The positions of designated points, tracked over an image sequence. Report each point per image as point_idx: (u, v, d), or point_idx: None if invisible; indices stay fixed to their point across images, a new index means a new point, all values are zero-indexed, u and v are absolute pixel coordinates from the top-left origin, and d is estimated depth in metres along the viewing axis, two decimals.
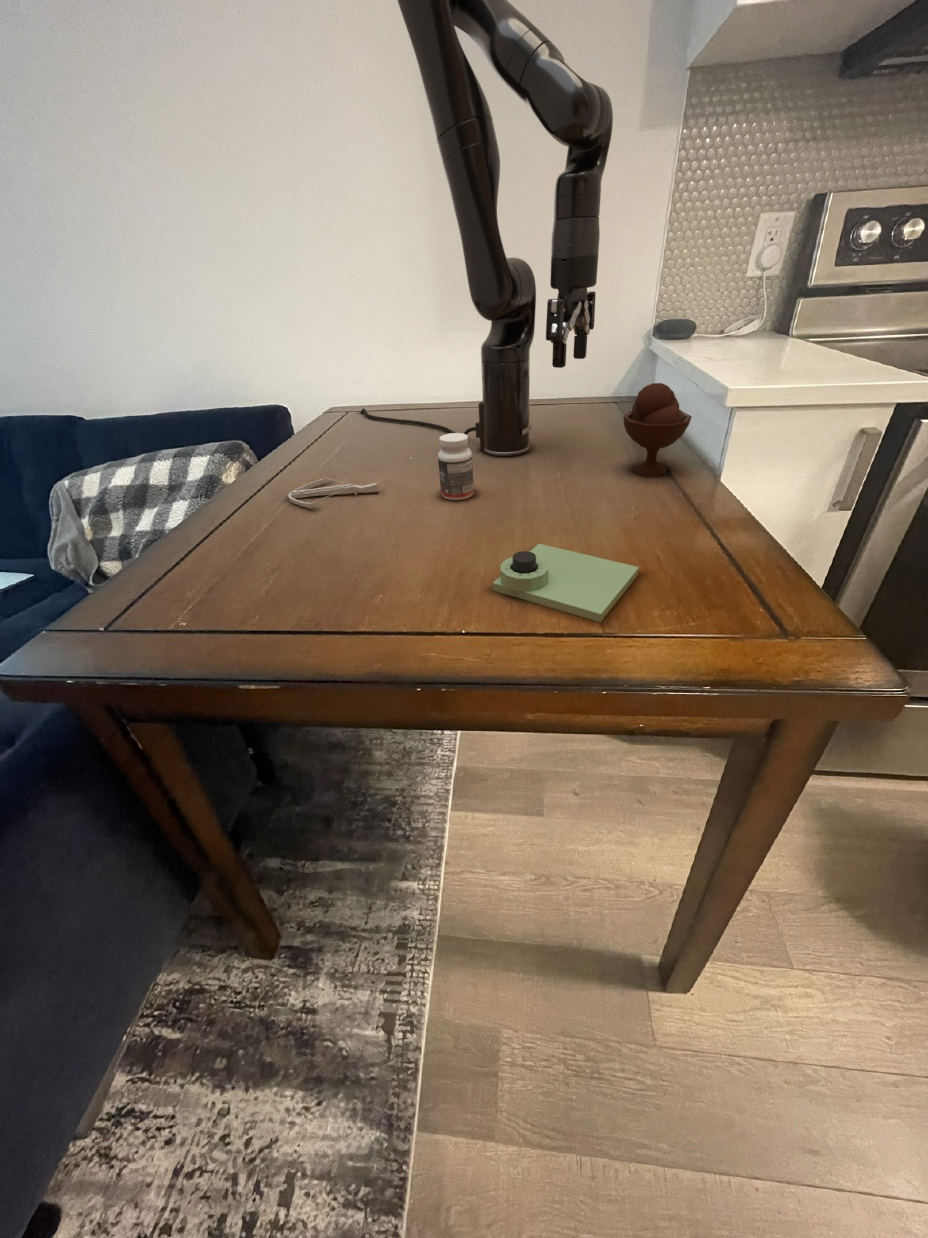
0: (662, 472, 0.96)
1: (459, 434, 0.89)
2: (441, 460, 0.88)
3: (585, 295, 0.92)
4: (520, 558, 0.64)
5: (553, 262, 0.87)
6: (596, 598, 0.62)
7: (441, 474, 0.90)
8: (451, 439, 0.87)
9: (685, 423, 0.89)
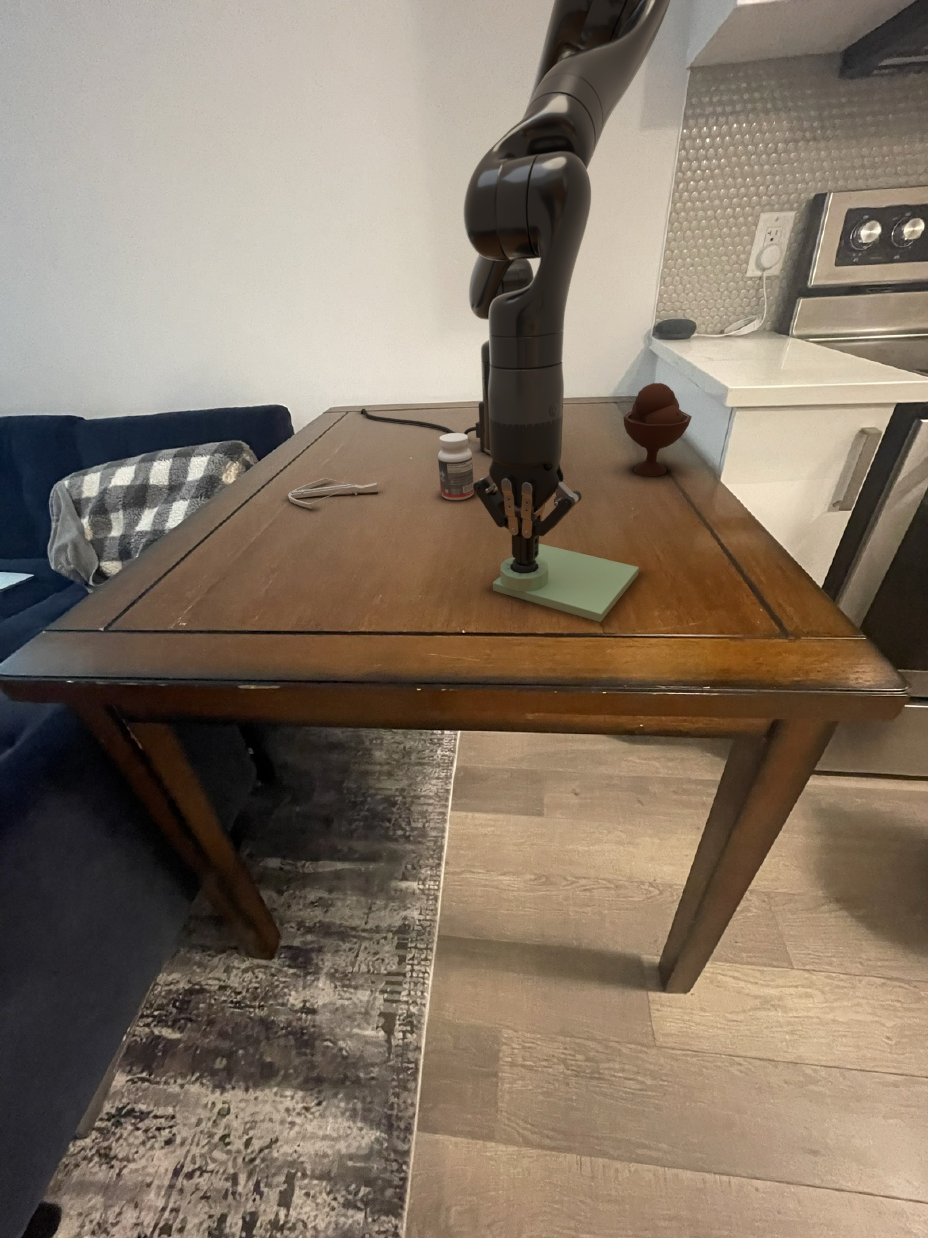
0: (662, 472, 0.96)
1: (459, 434, 0.89)
2: (441, 460, 0.88)
3: (544, 477, 0.57)
4: None
5: None
6: (596, 598, 0.62)
7: (441, 474, 0.90)
8: (451, 439, 0.87)
9: (685, 423, 0.89)
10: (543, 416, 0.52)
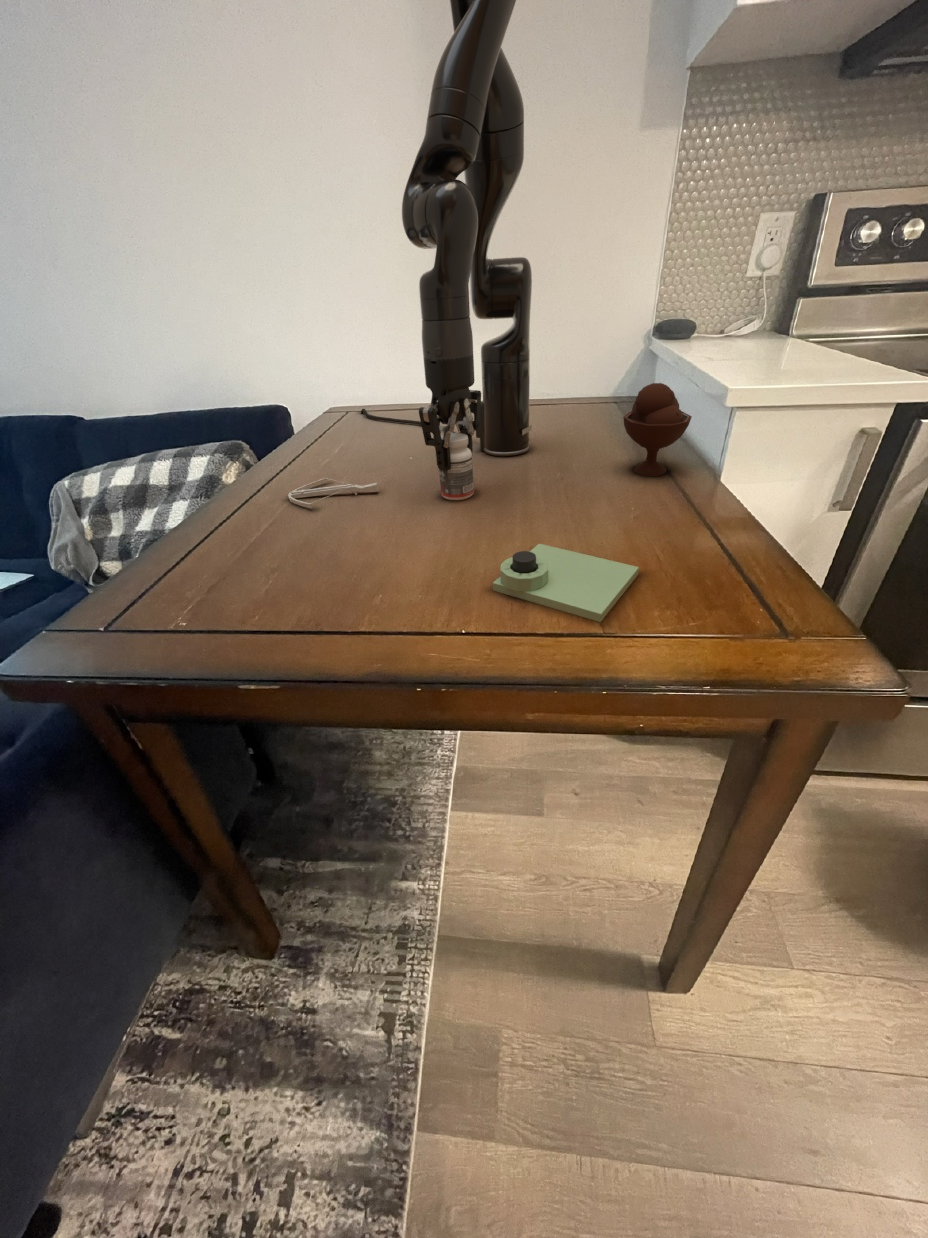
0: (662, 472, 0.96)
1: (459, 434, 0.89)
2: None
3: (467, 392, 0.86)
4: (520, 558, 0.64)
5: (424, 362, 0.81)
6: (596, 598, 0.62)
7: (441, 474, 0.90)
8: (451, 439, 0.87)
9: (685, 423, 0.89)
10: None
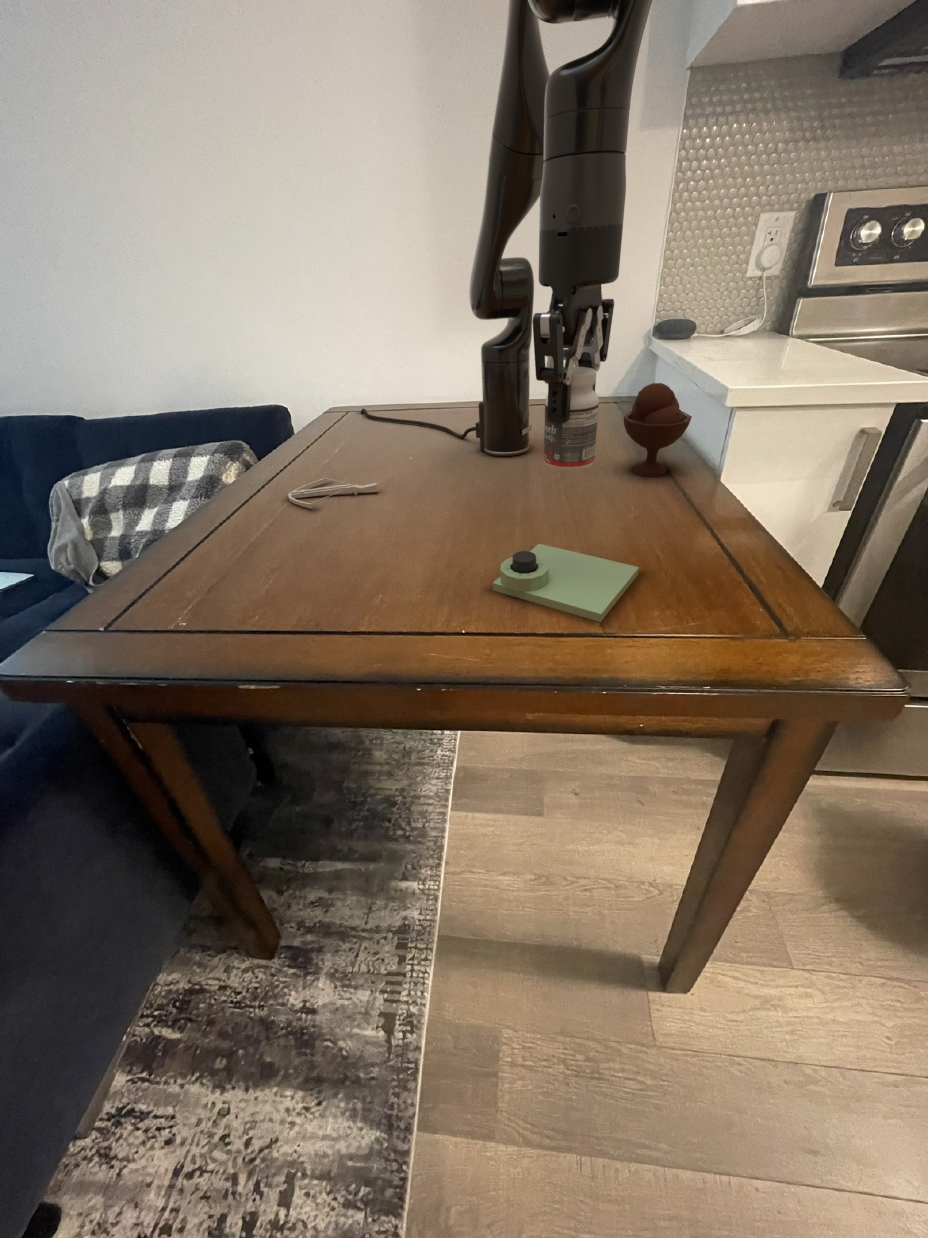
0: (662, 472, 0.96)
1: (580, 368, 0.57)
2: None
3: (599, 298, 0.54)
4: (520, 558, 0.64)
5: (543, 239, 0.49)
6: (596, 598, 0.62)
7: (550, 430, 0.59)
8: (572, 373, 0.55)
9: (685, 423, 0.89)
10: None
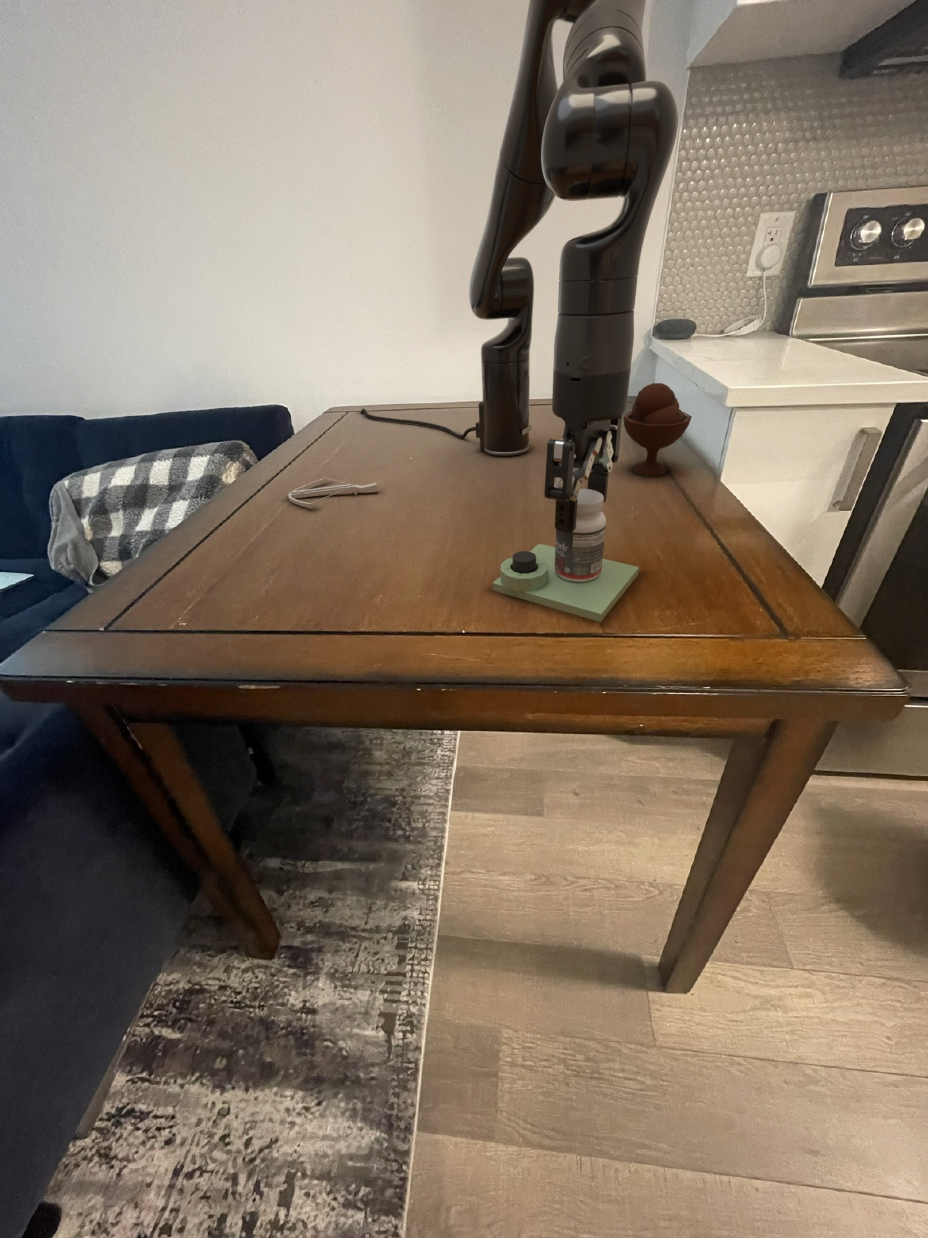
0: (662, 472, 0.96)
1: (589, 491, 0.62)
2: None
3: (608, 421, 0.58)
4: (520, 558, 0.64)
5: (557, 379, 0.53)
6: (596, 598, 0.62)
7: (561, 547, 0.64)
8: (582, 501, 0.60)
9: (685, 423, 0.89)
10: None
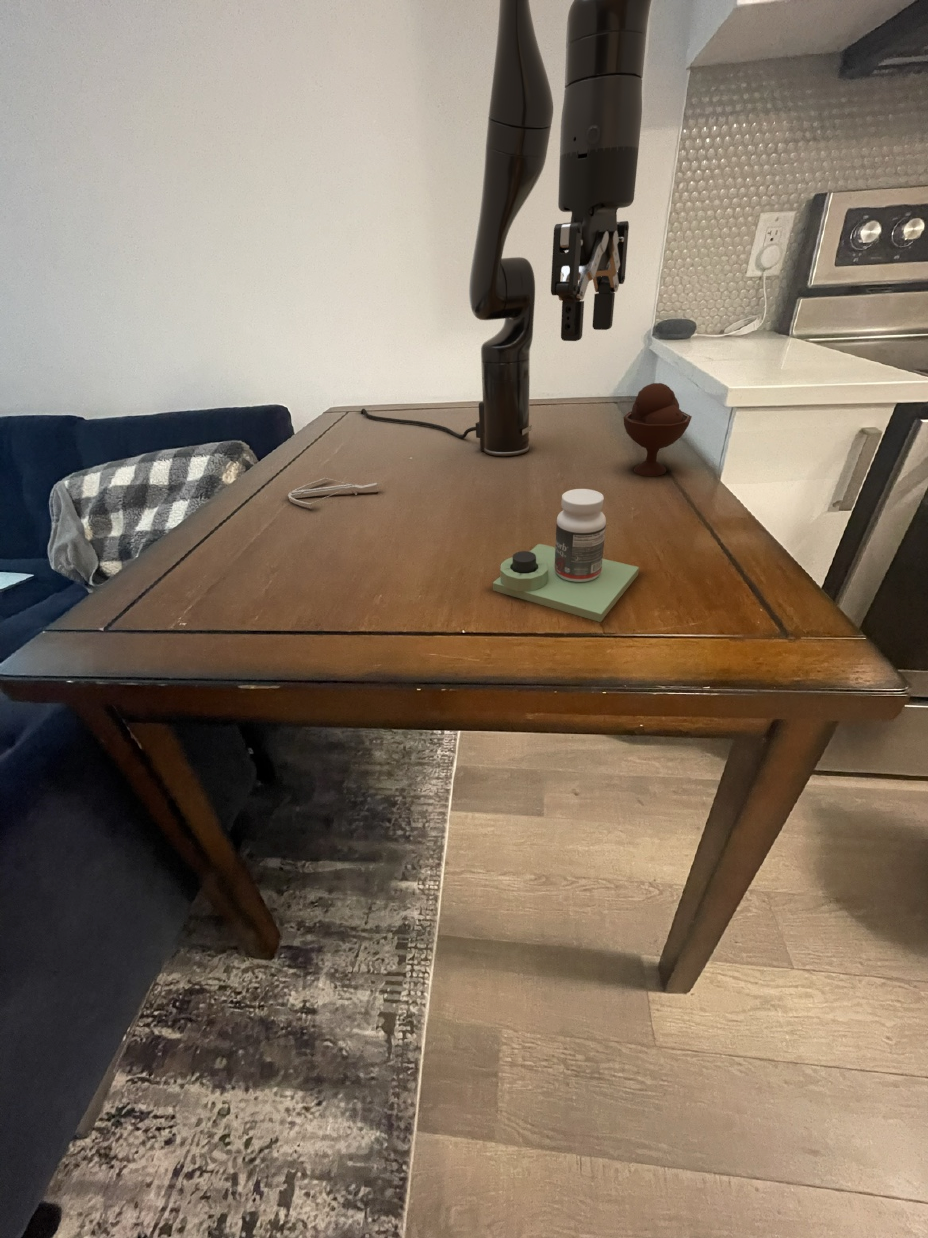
0: (662, 472, 0.96)
1: (588, 491, 0.62)
2: (564, 529, 0.62)
3: (614, 225, 0.58)
4: (520, 558, 0.64)
5: (563, 163, 0.53)
6: (596, 598, 0.62)
7: (561, 547, 0.64)
8: (582, 501, 0.60)
9: (685, 423, 0.89)
10: None
